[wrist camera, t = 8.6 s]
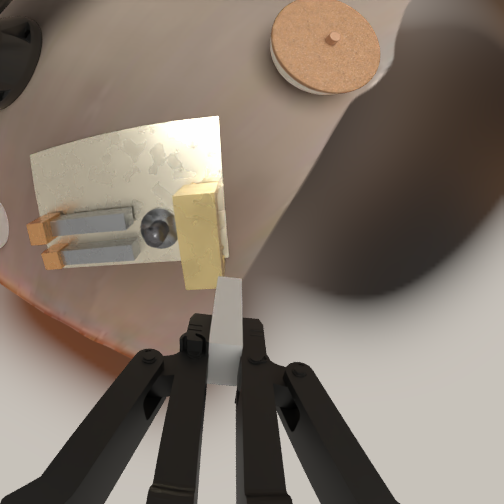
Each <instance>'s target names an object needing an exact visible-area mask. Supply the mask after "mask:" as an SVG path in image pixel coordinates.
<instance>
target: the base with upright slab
mask: <svg viewBox="0 0 504 504" xmlns="http://www.w3.org/2000/svg"><path fill="white" fill-rule="evenodd" d="M8 234H9V224H8V219H7V215H6V212H5V210H4V208H3V206H2V204H1V203H0V248H1V247H3V246H4V245H5V243H6V242H7V239H8Z"/></svg>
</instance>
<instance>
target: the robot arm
mask: <svg viewBox="0 0 504 504" xmlns="http://www.w3.org/2000/svg"><path fill="white" fill-rule="evenodd" d="M11 1H12V0H0V14H1V13H2V11H3V10H4V9H5V8H6V7H7V6H8V4H9V3H10V2H11ZM41 44H42V35H41V30H40V27H39V25H38V24H37V23H36V22H35V21H34V20H32V19H29V18H26V17H23V16H15V17H7V18H0V110H1V109H3V108H5V107H7V106H8V105H10V104H11V103H12V102H13V101H14V100H15V99H16V98H17V97H18V96H19V95H20V94H21V92H22V91H23V89H24V88H25V87H26V85H27V83H28V82H29V80H30V78H31V76H32V74H33V72H34V70H35V67H36V65H37V62H38V59H39V55H40V51H41ZM207 383H209V384H218V385H229V386H237V391H236V398H235V403H236V500H237V501H236V504H293V503H292V499H291V497H290V496H289V495H288V494H287V491H286V485H285V477H284V469H283V461H282V453H281V445H280V437H279V428H278V420H277V413H278V415H279V417H280V419H281V421H282V424H283V426H284V428H285V430H286V432H287V435H288V437H289V439H290V441H291V443H292V445H293V448H294V449H295V452H296V454H297V456H298V458H299V460H300V462H301V464H302V467H303V469H304V471H305V473H306V475H307V477H308V479H309V481H310V483H311V485H312V487H313V489H314V491H315V493H316V495H317V497H318V499H319V501H320V503H321V504H400V503H398V502H397V501H396V500H395V499H394V497H393V495H392V494H391V493H390V491H389V489H388V488H387V486H386V485H385V483H384V482H383V480H382V479H381V477H380V475H379V474H378V472H377V471H376V469H375V468H374V466H373V464H372V463H371V461H370V460H369V458H368V457H367V455H366V454H365V452H364V450H363V449H362V447H361V446H360V444H359V443H358V441H357V439H356V438H355V437H354V435H353V433H352V432H351V430H350V428H349V427H348V425H347V424H346V422H345V421H344V419H343V417H342V416H341V414H340V413H339V411H338V410H337V408H336V406H335V405H334V403H333V402H332V400H331V398H330V397H329V395H328V394H327V392H326V390H325V389H324V387H323V386H322V384H321V383H320V381H319V379H318V378H317V376H316V375H315V373H314V371H313V370H312V369H311V368H310V366H308V365H306V364H304V363H301V362H294V363H290V364H289V365H288V366H287V367H284V366H280V365H277V364H275V363H273V362H272V361H270V359H269V357H268V356H267V354H266V347H265V339H264V330H263V324H262V323H261V322H260V320H259V319H252V318H242V279H241V278H231V277H222V276H218V280H217V287H216V294H215V301H214V308H213V315H206V314H197V313H195V314H194V315H193V316H192V317H191V318H190V321H189V325H188V330H187V333H184V334H183V335H182V336H181V337H180V352H178V353H177V354H174V355H169V356H163V355H162V354H161V353H160V352H159V351H157V350H154V349H144V350H141V351H139V352H138V353H137V354H136V355H135V356H134V357H133V359H132V360H131V361H130V362H129V364H128V365H127V366H126V367H125V369H124V370H123V371H122V372H121V374H120V375H119V376H118V377H117V379H116V380H115V381H114V382H113V384H112V385H111V386H110V387H109V389H108V390H107V391H106V392H105V394H104V395H103V396H102V397H101V399H100V400H99V401H98V402H97V404H96V405H95V406H94V408H93V409H92V410H91V411H90V413H89V414H88V415H87V416H86V418H85V419H84V420H83V422H82V423H81V424H80V425H79V427H78V428H77V429H76V431H75V432H74V433H73V434H72V436H71V437H70V438H69V440H68V441H67V442H66V444H65V445H64V446H63V448H62V449H61V450H60V452H59V453H58V454H57V456H56V457H55V458H54V460H53V461H52V462H51V463H50V465H49V466H48V468H47V469H46V470H45V471H44V473H43V474H42V476H41V477H39V478H37V479H36V480H34V481H32V482H30V483H29V484H27V485H25V486H23V487H21V488H20V489H18V490H16V491H14V492H12V493H11V494H9V495H7V496H5V497H4V498H3V499H2V500H1V503H0V504H104V503H105V501H106V500H107V498H108V496H109V494H110V493H111V491H112V489H113V488H114V486H115V484H116V482H117V481H118V479H119V478H120V476H121V474H122V472H123V471H124V469H125V467H126V466H127V464H128V462H129V460H130V459H131V457H132V455H133V453H134V452H135V450H136V449H137V447H138V445H139V443H140V442H141V440H142V438H143V437H144V435H145V433H146V432H147V430H148V428H149V426H150V425H151V423H152V421H153V419H154V418H155V416H156V414H157V413H158V411H159V409H160V408H161V406H162V404H163V403H164V401H165V399H166V397H167V396H170V398H169V403H168V407H167V412H166V417H165V422H164V427H163V432H162V437H161V442H160V448H159V453H158V458H157V464H156V469H155V475H154V480H153V484H152V485H151V486H150V489H149V491H148V496H147V502H146V504H197V499H198V484H199V469H200V456H201V444H202V431H203V421H204V410H205V400H206V388H207ZM276 410H277V412H276Z"/></svg>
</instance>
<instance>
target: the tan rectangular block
mask: <svg viewBox="0 0 504 504" xmlns="http://www.w3.org/2000/svg"><path fill="white" fill-rule="evenodd" d="M218 192H219V186H218V182H211V183H200V184H189V185H183V186H182V187H181V188H180V189H179V190H178V191H177V192H176V193H175V194H174V195H173V196H172V200H173V208H174V216H175V223H176V230H177V237H178V244H179V250H180V257H181V263H182V269H183V275H184V281H185V287H186V290H195V289H213V288H216V287H217V280H218V276H222V277H224V274H225V255H222V247H221V236H220V225H219V214H218V203H217V195H218Z"/></svg>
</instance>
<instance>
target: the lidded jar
mask: <svg viewBox="0 0 504 504" xmlns="http://www.w3.org/2000/svg"><path fill="white" fill-rule="evenodd" d="M270 52H271V56H272V60H273V62H274V64H275V66H276V68H277V70H278V71H279V73H280V74H281V75H282V76H283V77H284V78H285V79H286V80H287V81H288V82H289V83H290V84H292V85H293V86H295V87H297V88H299V89H301V90H303V91H306V92H309V93H313V94H318V95H334V94H341V93H347V92H351V91H354V90H356V89H359V88H361V87H362V86H364V85H366V84H367V83H368V82H369V81H370V80H371V79H372V78H373V76H374V75H375V73H376V71H377V69H378V66H379V62H380V46H379V43H378V39H377V37H376V34H375V32H374V30H373V29H372V27H371V26H370V24H369V23H368V22H367V20H366V19H365V18H364V17H363V16H362V15H361V14H360V13H358V12H357V11H356V10H354V9H353V8H352V7H350V6H348V5H346V4H344V3H342V2H340V1H337V0H296V1H294V2H292V3H290V4H288V5H287V6H286V7H284V8H283V9H282V10H281V12H280V13H279V14H278V16H277V17H276V19H275V21H274V24H273V27H272V32H271V39H270Z"/></svg>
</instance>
